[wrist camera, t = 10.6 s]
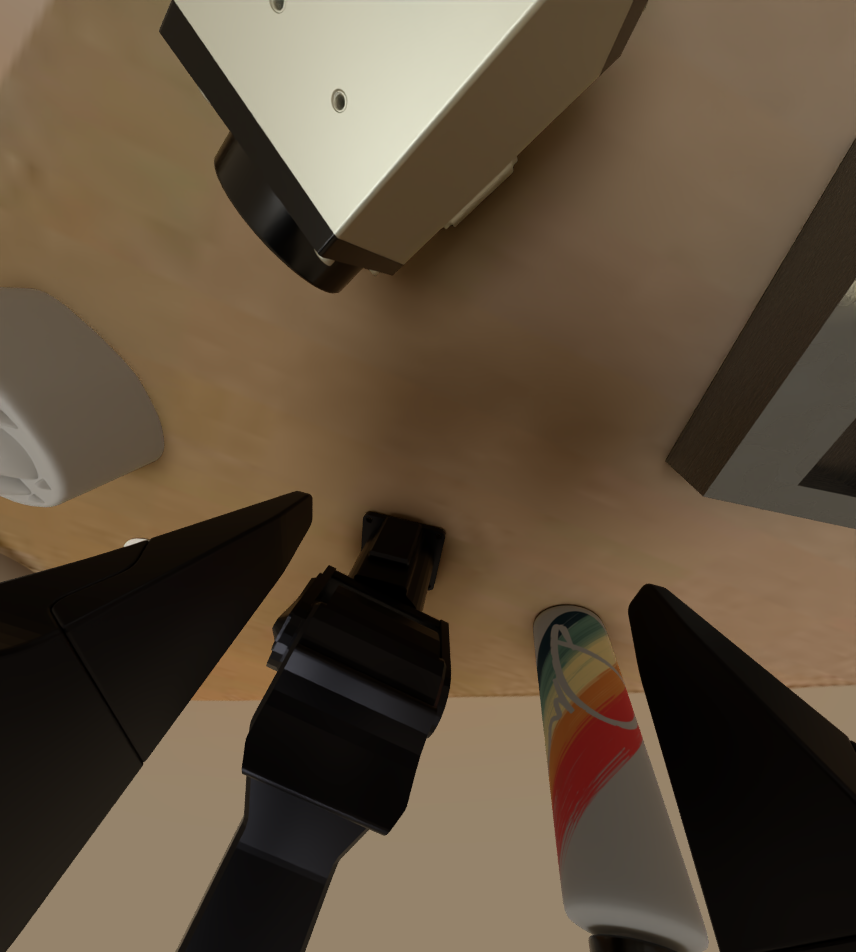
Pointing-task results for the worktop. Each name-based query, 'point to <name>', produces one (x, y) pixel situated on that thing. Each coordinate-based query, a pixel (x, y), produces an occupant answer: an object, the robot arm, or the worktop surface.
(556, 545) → the worktop surface
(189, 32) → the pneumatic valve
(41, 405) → the lumpy-topped squat cylinder
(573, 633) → the lotion bottle
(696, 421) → the socket block
